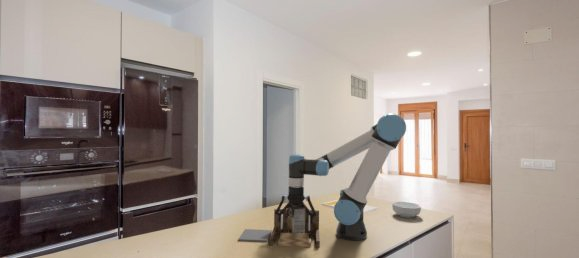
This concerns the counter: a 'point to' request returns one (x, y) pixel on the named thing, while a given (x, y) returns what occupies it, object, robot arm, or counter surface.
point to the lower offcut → (294, 243)
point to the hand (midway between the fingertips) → (295, 229)
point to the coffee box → (296, 219)
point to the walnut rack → (313, 226)
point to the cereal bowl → (406, 209)
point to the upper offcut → (294, 237)
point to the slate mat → (255, 235)
